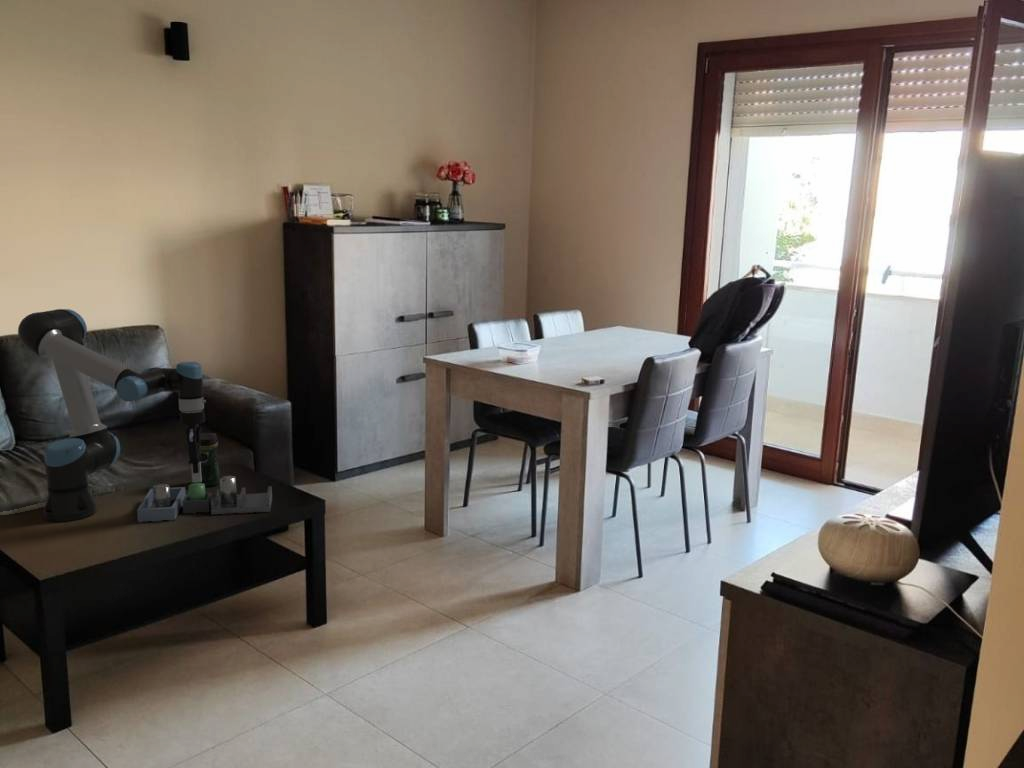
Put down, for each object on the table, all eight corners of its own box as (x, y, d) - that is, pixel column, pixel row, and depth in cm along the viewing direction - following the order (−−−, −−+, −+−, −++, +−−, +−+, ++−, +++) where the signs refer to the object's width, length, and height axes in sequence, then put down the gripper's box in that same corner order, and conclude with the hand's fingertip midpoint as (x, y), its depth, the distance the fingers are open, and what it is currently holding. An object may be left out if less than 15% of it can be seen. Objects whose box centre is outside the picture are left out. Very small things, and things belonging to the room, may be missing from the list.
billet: (153, 512, 283) (151, 489, 282) (156, 508, 288) (154, 484, 287) (169, 512, 284) (168, 488, 283) (172, 507, 289) (170, 483, 288)
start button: (188, 505, 284) (187, 488, 283) (190, 501, 289) (189, 483, 288) (204, 505, 285) (203, 487, 284) (206, 500, 290) (205, 482, 289)
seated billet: (220, 504, 286) (218, 480, 285) (221, 499, 291) (220, 476, 289) (236, 503, 287) (234, 479, 286) (237, 498, 292) (236, 475, 290)
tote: (137, 522, 274) (137, 510, 274) (151, 500, 296) (150, 488, 295) (175, 520, 277) (174, 507, 276) (185, 498, 298) (185, 487, 297)
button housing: (183, 513, 283) (182, 501, 282) (186, 505, 290) (186, 494, 290) (209, 512, 284) (208, 500, 284) (212, 504, 292) (211, 492, 291)
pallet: (211, 515, 282) (210, 501, 281) (216, 501, 295) (215, 488, 294) (269, 511, 285) (269, 498, 284) (272, 498, 299) (271, 485, 298)
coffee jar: (222, 480, 318) (220, 430, 315) (216, 487, 311) (214, 436, 307) (195, 481, 318) (192, 430, 314) (188, 487, 310) (185, 436, 306)
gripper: (201, 414, 276) (206, 486, 280) (207, 405, 288) (211, 475, 293) (176, 415, 274) (181, 488, 279) (182, 406, 287) (187, 476, 291)
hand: (197, 481), depth 286 cm, fingers closed
